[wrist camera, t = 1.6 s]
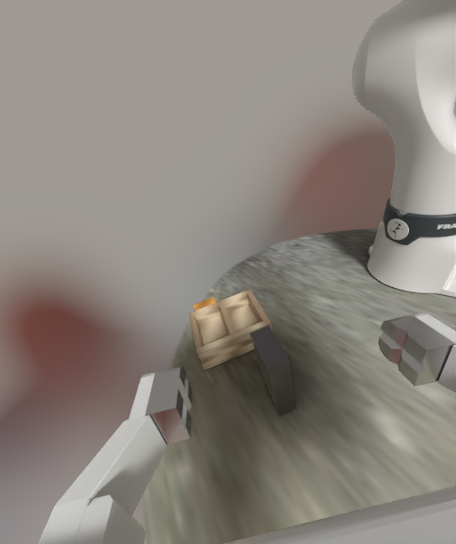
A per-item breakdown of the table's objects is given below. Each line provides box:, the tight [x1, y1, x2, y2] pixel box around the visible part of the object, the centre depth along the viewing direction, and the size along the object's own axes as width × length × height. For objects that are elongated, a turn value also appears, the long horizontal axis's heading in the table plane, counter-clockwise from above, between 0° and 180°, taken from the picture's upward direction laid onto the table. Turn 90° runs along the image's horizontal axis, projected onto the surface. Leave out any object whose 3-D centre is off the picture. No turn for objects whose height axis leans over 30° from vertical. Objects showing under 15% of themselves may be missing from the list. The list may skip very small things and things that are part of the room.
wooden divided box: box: [189, 289, 273, 371], centre depth 40 cm, size 14×12×5 cm
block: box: [250, 325, 297, 416], centre depth 27 cm, size 2×5×12 cm, turn 19°
